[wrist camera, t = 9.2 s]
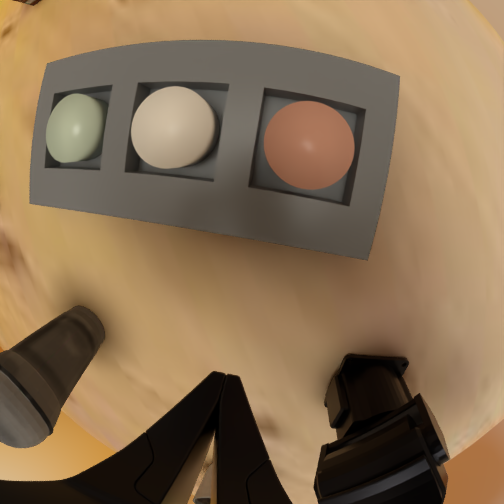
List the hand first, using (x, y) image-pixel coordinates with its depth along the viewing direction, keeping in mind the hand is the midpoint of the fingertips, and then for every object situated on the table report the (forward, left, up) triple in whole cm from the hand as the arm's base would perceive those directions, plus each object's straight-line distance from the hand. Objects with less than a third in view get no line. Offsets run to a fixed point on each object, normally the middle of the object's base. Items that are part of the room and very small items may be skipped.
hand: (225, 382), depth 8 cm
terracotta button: (-2, -8, -11) cm, 14 cm away
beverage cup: (+15, +10, -12) cm, 22 cm away
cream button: (+6, -8, -11) cm, 15 cm away
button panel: (+6, -8, -12) cm, 16 cm away
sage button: (+14, -8, -11) cm, 20 cm away
